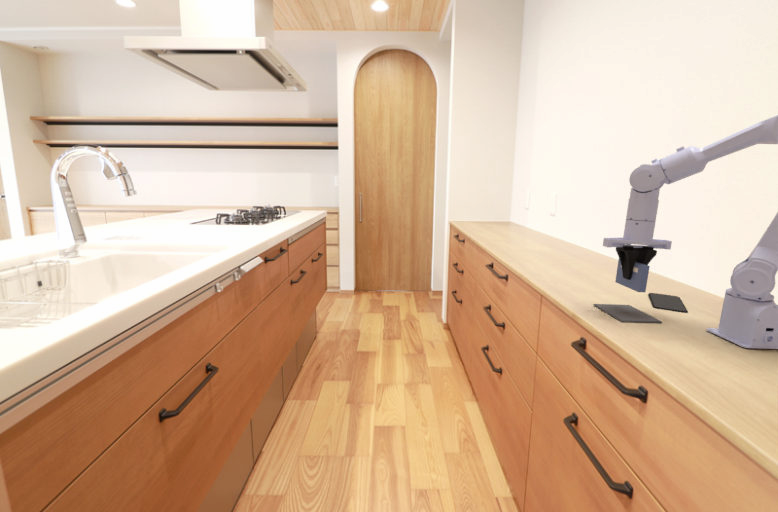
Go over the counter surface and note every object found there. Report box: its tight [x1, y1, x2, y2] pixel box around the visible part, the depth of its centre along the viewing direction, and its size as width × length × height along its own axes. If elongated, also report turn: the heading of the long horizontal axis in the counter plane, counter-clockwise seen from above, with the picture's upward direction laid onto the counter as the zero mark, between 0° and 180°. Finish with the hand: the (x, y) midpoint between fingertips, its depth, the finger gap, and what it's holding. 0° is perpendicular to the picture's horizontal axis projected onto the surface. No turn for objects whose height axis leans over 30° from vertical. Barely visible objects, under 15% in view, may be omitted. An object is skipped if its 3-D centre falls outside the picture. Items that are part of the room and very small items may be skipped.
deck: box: [614, 258, 650, 293], centre depth 93 cm, size 9×2×6 cm, turn 1°
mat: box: [593, 303, 663, 324], centre depth 94 cm, size 12×9×1 cm
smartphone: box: [647, 292, 688, 314], centre depth 105 cm, size 7×1×15 cm
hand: (631, 278), depth 93 cm, fingers closed on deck, 2 cm apart
